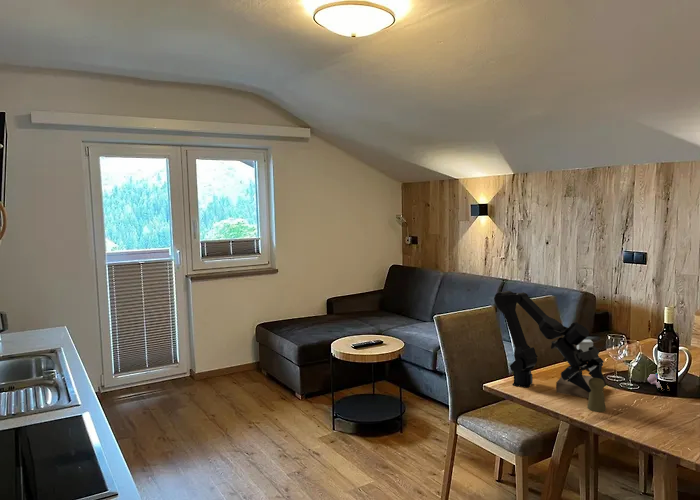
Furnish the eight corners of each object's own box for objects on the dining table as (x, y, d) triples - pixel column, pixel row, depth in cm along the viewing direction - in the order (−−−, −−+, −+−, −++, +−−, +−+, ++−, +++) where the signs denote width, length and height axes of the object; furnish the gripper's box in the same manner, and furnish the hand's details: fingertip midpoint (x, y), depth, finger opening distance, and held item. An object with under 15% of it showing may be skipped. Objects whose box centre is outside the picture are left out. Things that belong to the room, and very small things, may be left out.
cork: (608, 412, 181) (608, 382, 180) (589, 411, 182) (589, 381, 181) (603, 405, 187) (603, 376, 186) (585, 405, 188) (585, 375, 187)
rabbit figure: (673, 394, 198) (653, 375, 213) (674, 380, 197) (654, 362, 211) (656, 394, 199) (637, 375, 213) (657, 380, 197) (638, 362, 212)
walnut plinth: (556, 392, 201) (556, 382, 201) (564, 381, 213) (564, 372, 212) (595, 399, 193) (595, 388, 193) (602, 387, 204) (602, 377, 204)
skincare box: (578, 368, 229) (578, 341, 228) (576, 365, 233) (576, 339, 232) (593, 368, 228) (593, 341, 227) (590, 365, 232) (590, 339, 231)
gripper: (567, 344, 182) (597, 383, 173) (598, 335, 192) (628, 371, 183) (548, 361, 189) (576, 399, 181) (579, 351, 199) (607, 387, 191)
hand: (597, 388), depth 184 cm, fingers open, 9 cm apart
